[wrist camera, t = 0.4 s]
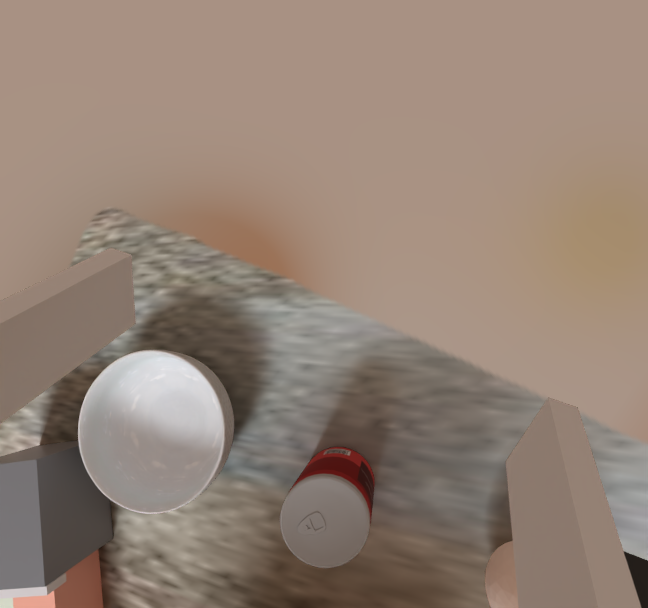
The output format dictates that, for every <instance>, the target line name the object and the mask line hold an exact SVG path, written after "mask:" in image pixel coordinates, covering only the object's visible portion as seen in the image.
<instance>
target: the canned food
mask: <svg viewBox="0 0 648 608" xmlns="http://www.w3.org/2000/svg"><path fill="white" fill-rule="evenodd" d="M373 495H374V475H373V472H372V469H371V467H370V466H369V464H368V462H367V461H366V460H365V459H364V458H363V457H362V456H361V455H360V454H358V453H357V452H355V451H353V450H351V449H348V448H344V447H333V448H328V449H325V450H323V451H321V452H320V453H318V454H317V455H316V456H314V457H313V458H312V460H311V461H310V462H309V463H308V465H307V466H306V468H305V469H304V471H303V472H302V473H301V475H300V476H299V478H298V479H297V481H296V482H295V484H294V485H293V486H292V488H291V489H290V491H289V493H288V494H287V496H286V498H285V500H284V503H283V505H282V509H281V513H280V528H281V533H282V536H283V539H284V541H285V543H286V545H287V547H288V548H289V549H290V551H291V552H292V553H293V554H294V555H295V556H296V557H297V558H298V559H300V560H301V561H303V562H305V563H306V564H308V565H311V566H314V567H319V568H333V567H337V566H341V565H343V564H345V563H347V562H349V561H351V560H352V559H353V558H354V557H355V556H356V555H357V554H358V553H359V552H360V550H361V549H362V548H363V546H364V544H365V542H366V540H367V537H368V533H369V530H370V524H371V515H372V505H373Z"/></svg>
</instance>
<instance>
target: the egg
mask: <svg viewBox="0 0 648 608" xmlns="http://www.w3.org/2000/svg"><path fill="white" fill-rule="evenodd" d="M485 588H486V593H487V598H488V601H489V604H490V607H491V608H519V606H518V595H517V584H516V572H515V561H514V550H513V541H510V542H507V543H504V544H503V545H501V546H500V547H498V548H497V549H496V550H495V551H494V553H493V554H492V555H491V557H490V559H489V561H488V564H487V567H486V571H485Z"/></svg>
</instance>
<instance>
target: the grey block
mask: <svg viewBox="0 0 648 608" xmlns="http://www.w3.org/2000/svg"><path fill="white" fill-rule="evenodd" d="M112 539H113V531H112V519H111V507H110V499H109V498H108V497H106V496H105V495H104V494H103V493H102V492H101V491H100V490H99V489H98V487H97V486H96V485H95V483H94V482H93V480H92V479H91V477H90V476H89V474H88V472H87V470H86V468H85V466H84V463H83V460H82V457H81V453H80V449H79V442H78V440H77V441H69V442H62V443H54V444H46V445H39V446H36V447H32V448H29V449H25V450H22V451H19V452H15V453H12V454H8V455H5V456H2V457H0V599H2V598H16V597H30V596H45V595H48V594H50V593H51V592H52V591H54V590H55V589H57V588H58V587H59V586H61V585H62V584H63V583H65V582H66V573H65V572H66V571H68V570H69V569H71V568H72V567H73V566H75V565H76V564H78V563H79V562H80V561H82V560H83V559H85V558H86V557H88V556H89V555H90V554H92V553H93V552H95V551H96V550H97V549H99V548H100V547H102V546H103V545H104V544H106V543H107V542H109V541H110V540H112Z"/></svg>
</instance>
